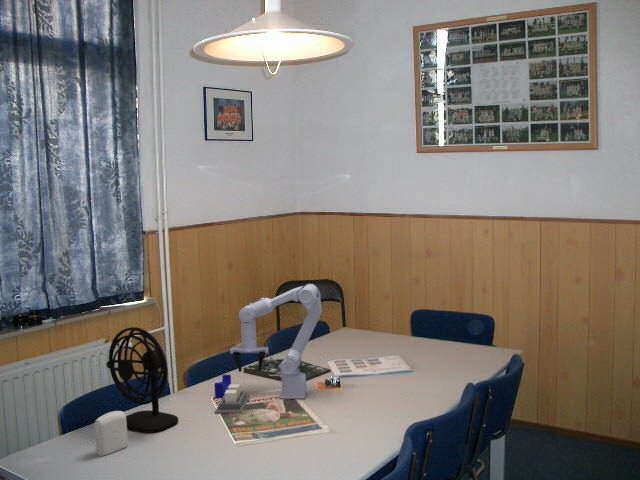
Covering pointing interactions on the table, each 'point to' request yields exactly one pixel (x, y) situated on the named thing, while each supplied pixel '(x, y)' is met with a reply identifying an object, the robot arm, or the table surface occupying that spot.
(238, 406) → the grey stepped block
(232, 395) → the light gray rectangular block
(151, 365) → the desk fan
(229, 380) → the cable clip
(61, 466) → the table surface
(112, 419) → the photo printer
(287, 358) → the robot arm
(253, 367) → the topographical map
